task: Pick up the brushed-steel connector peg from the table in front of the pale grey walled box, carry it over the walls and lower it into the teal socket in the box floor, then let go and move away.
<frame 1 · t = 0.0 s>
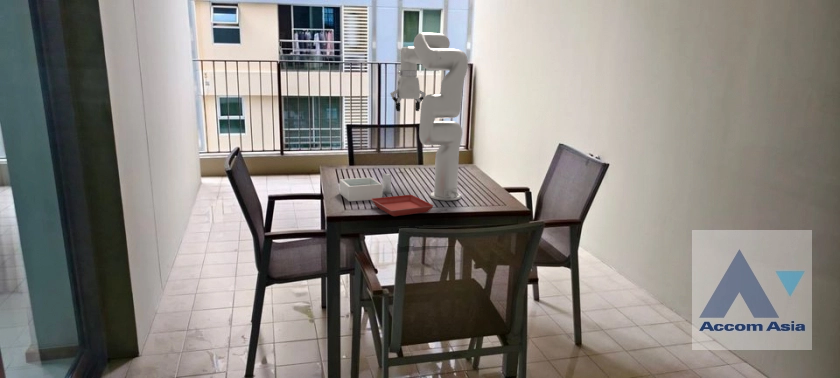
hand: (407, 111, 271), 31 cm above the table, tool pointing down, fingers open, 9 cm apart
walled box: (360, 196, 236), on the table
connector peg: (386, 193, 242), on the table
plant saucer: (401, 210, 218), on the table
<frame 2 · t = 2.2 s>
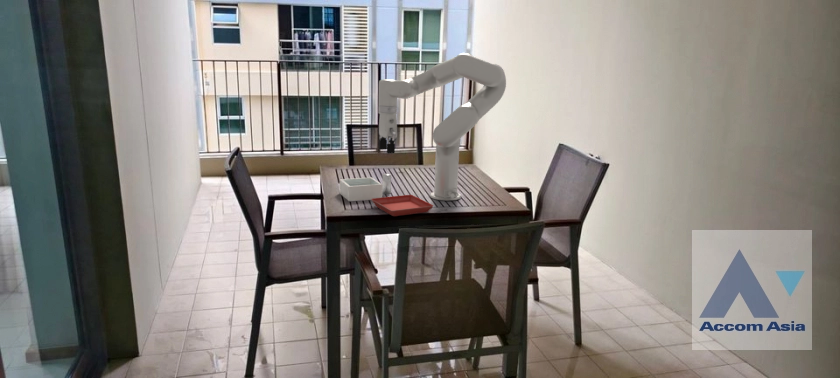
hand: (386, 151, 238), 18 cm above the table, tool pointing down, fingers open, 9 cm apart
nothing on the table moved.
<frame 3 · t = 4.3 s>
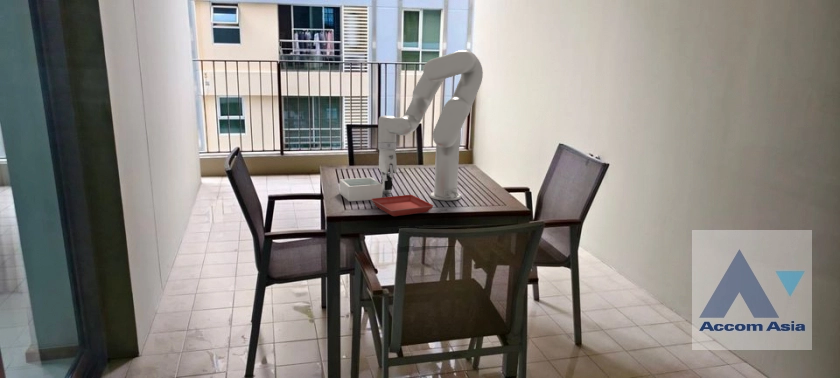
hand: (386, 188, 242), 2 cm above the table, tool pointing down, fingers closed on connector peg, 3 cm apart
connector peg: (386, 193, 242), on the table, touching gripper
everything else where it was.
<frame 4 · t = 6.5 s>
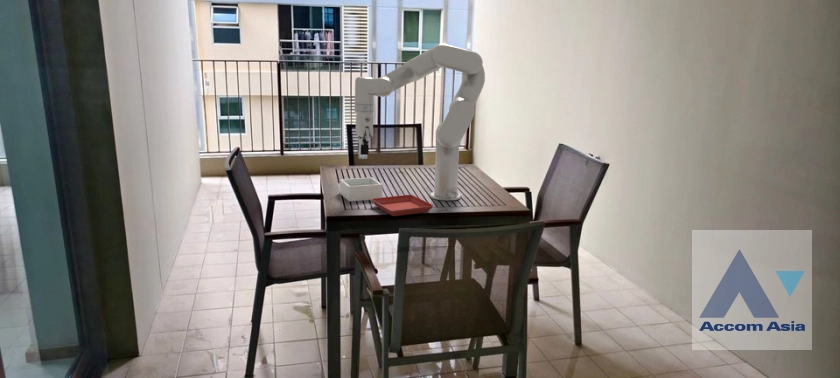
hand: (363, 153, 233), 18 cm above the table, tool pointing down, fingers closed on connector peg, 3 cm apart
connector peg: (362, 158, 233), point 16 cm above the table, touching gripper
everything else where it was.
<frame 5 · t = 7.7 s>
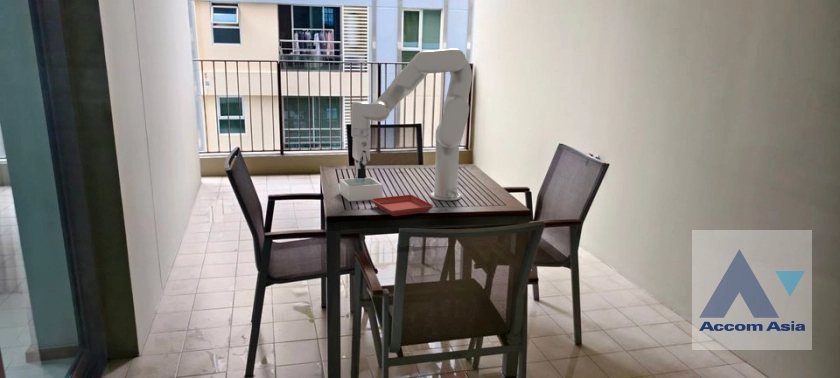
hand: (360, 176, 234), 8 cm above the table, tool pointing down, fingers closed on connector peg, 3 cm apart
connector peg: (359, 181, 234), point 6 cm above the table, touching gripper
everything else where it was.
when the fingers open (4 cm above the table, at t = 8.9 s): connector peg stays where it is, resting on walled box.
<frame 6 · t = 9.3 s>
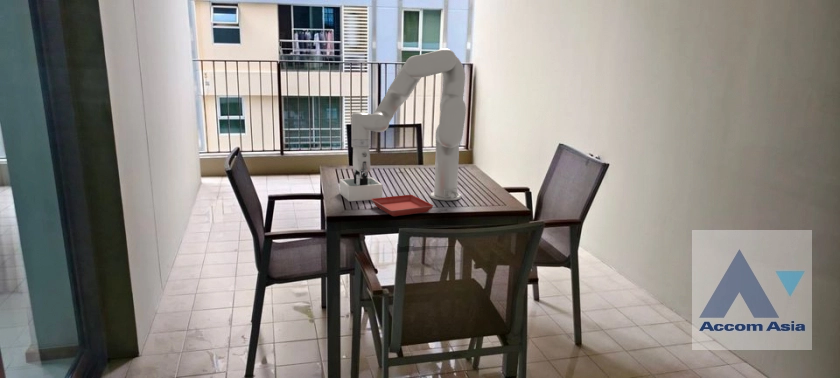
hand: (360, 185, 235), 5 cm above the table, tool pointing down, fingers open, 7 cm apart
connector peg: (360, 193, 236), point 1 cm above the table, touching walled box
everything else where it was.
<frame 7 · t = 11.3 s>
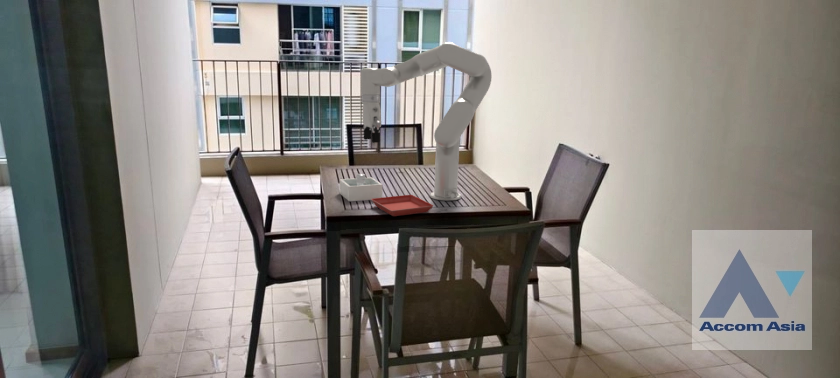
hand: (371, 140, 236), 22 cm above the table, tool pointing down, fingers open, 9 cm apart
nothing on the table moved.
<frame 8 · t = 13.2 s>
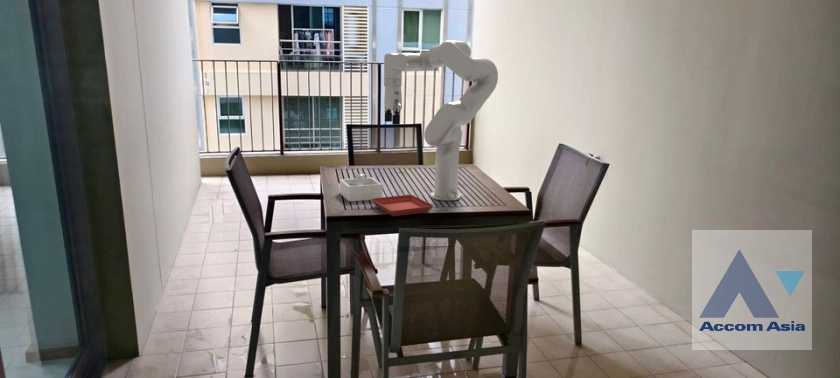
hand: (392, 122, 248), 28 cm above the table, tool pointing down, fingers open, 9 cm apart
nothing on the table moved.
at the end: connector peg 0.0 cm off-centre on the walled box, point 1.0 cm above the walled box's base; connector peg tilted 0°; the gripper is holding nothing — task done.
